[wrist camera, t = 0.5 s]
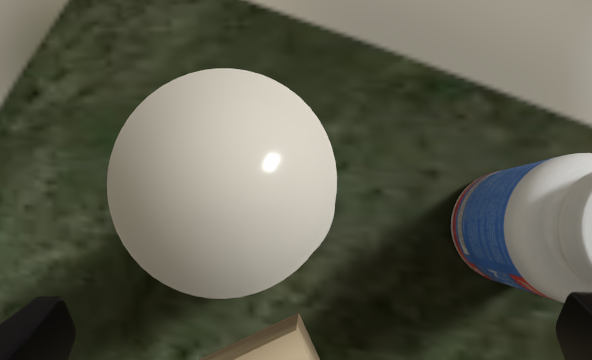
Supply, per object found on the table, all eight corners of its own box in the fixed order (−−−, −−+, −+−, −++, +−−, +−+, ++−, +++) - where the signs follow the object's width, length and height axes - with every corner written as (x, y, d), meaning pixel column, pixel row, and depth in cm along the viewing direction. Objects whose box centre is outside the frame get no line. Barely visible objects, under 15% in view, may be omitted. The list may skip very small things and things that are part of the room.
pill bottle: (450, 282, 23) (555, 328, 13) (445, 173, 23) (542, 139, 14) (563, 281, 23) (754, 326, 13) (556, 171, 23) (735, 135, 13)
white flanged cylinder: (355, 233, 23) (413, 250, 10) (238, 288, 23) (148, 375, 10) (300, 119, 24) (289, -2, 11) (186, 172, 24) (38, 114, 11)
